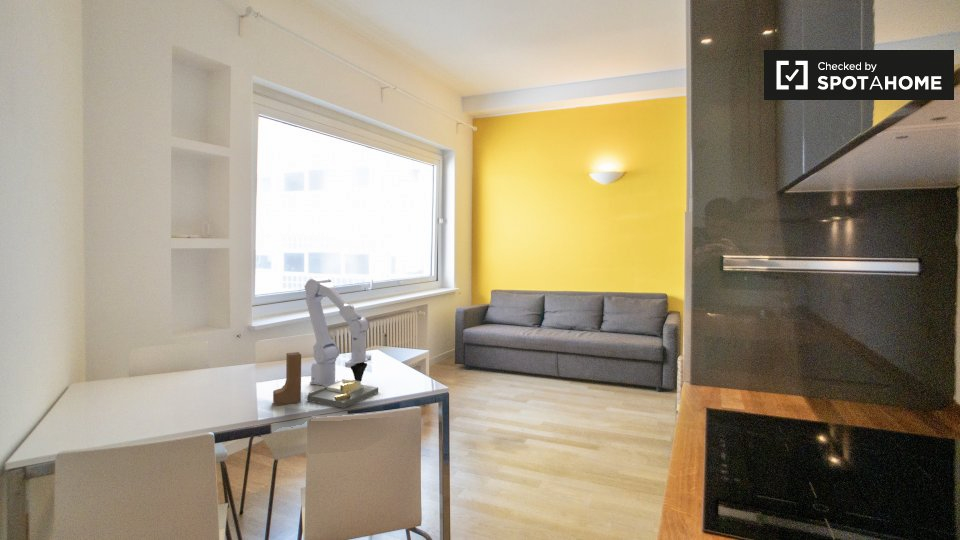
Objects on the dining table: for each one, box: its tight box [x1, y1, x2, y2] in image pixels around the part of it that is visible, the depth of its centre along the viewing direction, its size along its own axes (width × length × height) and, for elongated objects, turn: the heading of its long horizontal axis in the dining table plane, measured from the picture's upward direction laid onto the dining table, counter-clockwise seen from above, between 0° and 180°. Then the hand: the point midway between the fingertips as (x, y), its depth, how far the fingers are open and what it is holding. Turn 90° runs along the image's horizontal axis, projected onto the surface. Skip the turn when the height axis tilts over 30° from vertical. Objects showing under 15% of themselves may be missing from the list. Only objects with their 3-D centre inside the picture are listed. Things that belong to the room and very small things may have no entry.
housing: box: [306, 379, 379, 409], centre depth 193 cm, size 17×21×3 cm
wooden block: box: [272, 351, 302, 406], centre depth 184 cm, size 9×4×18 cm, turn 121°
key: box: [334, 382, 357, 400], centre depth 185 cm, size 8×1×5 cm, turn 138°
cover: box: [327, 377, 364, 393], centre depth 196 cm, size 10×9×2 cm
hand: (358, 381), depth 204 cm, fingers closed
